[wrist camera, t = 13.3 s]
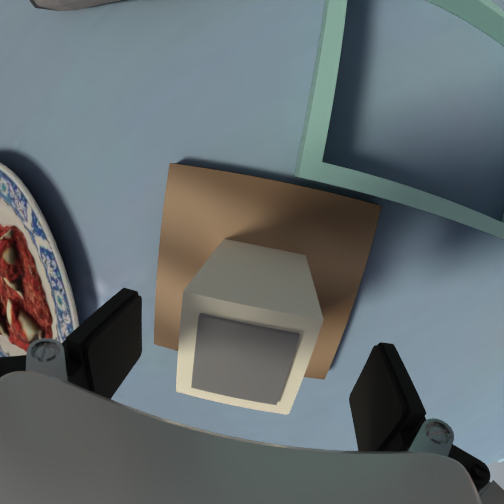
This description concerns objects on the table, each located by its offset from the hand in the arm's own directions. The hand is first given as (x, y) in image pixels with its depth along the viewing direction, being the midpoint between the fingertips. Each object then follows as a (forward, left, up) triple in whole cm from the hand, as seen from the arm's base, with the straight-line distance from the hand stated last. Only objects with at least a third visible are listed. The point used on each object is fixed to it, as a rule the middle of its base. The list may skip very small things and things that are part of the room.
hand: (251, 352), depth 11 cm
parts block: (0, 0, -8) cm, 8 cm away
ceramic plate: (+8, -26, -9) cm, 29 cm away
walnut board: (+1, 0, -9) cm, 9 cm away
